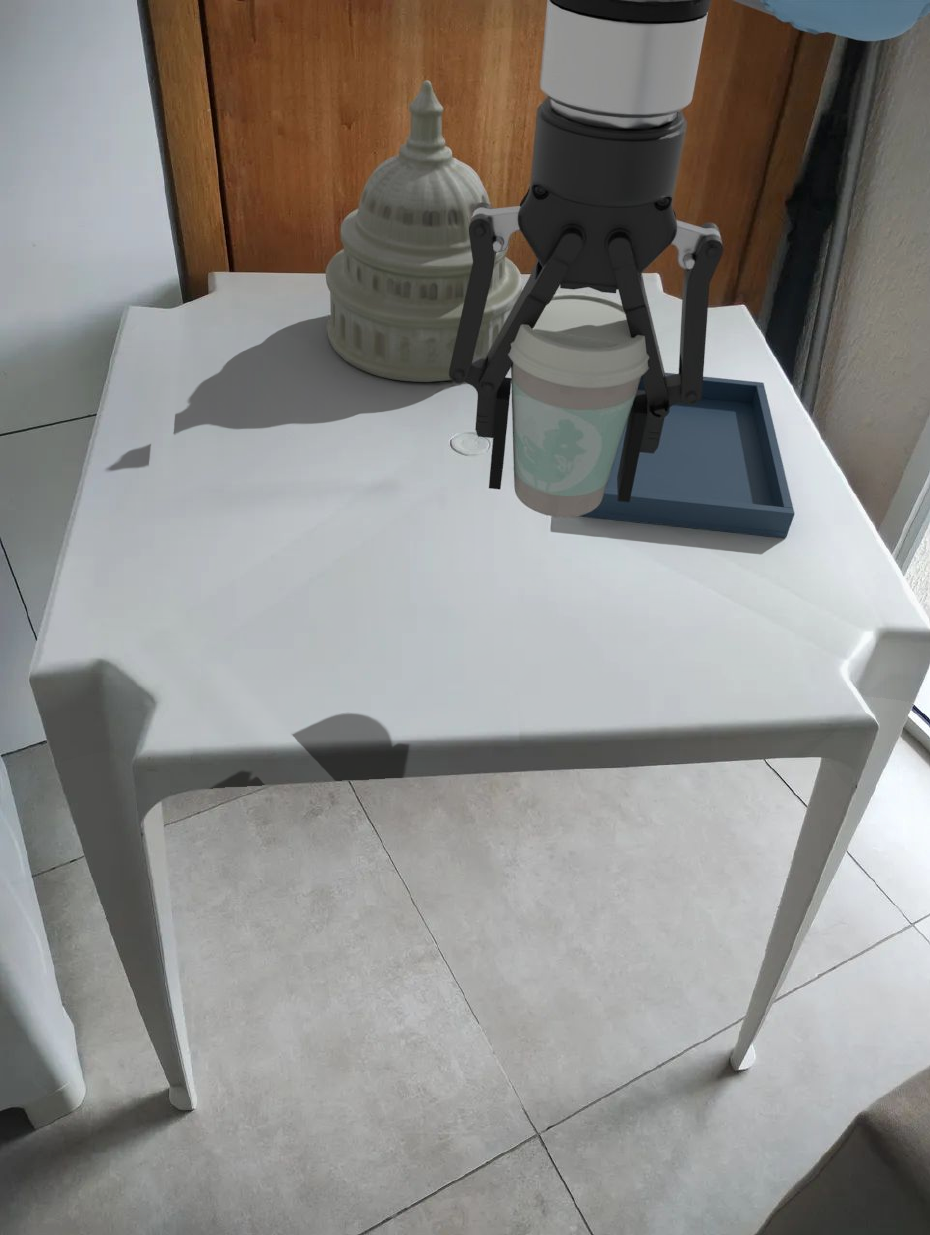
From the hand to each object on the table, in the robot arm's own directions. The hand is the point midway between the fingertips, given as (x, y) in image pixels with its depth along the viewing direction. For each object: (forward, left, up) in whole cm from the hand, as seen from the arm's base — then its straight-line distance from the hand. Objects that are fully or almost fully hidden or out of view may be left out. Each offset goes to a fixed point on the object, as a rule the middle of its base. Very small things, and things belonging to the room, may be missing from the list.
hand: (559, 482), depth 65 cm
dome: (+44, +14, -14) cm, 48 cm away
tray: (+26, -12, -14) cm, 31 cm away
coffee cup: (0, 0, -1) cm, 1 cm away
